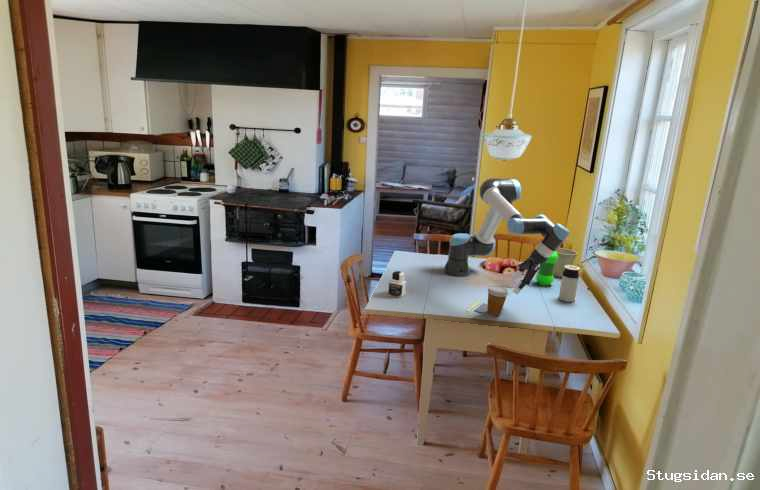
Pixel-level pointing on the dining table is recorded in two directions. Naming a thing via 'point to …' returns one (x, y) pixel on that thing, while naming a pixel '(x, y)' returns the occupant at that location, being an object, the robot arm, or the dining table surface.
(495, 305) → the disposable coffee cup
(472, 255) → the robot arm
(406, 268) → the dining table surface
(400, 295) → the medicine bottle
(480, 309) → the mat
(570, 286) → the travel mug
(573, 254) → the plant pot
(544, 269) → the plastic bottle
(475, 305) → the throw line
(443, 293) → the dining table surface
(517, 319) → the dining table surface
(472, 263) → the dining table surface
